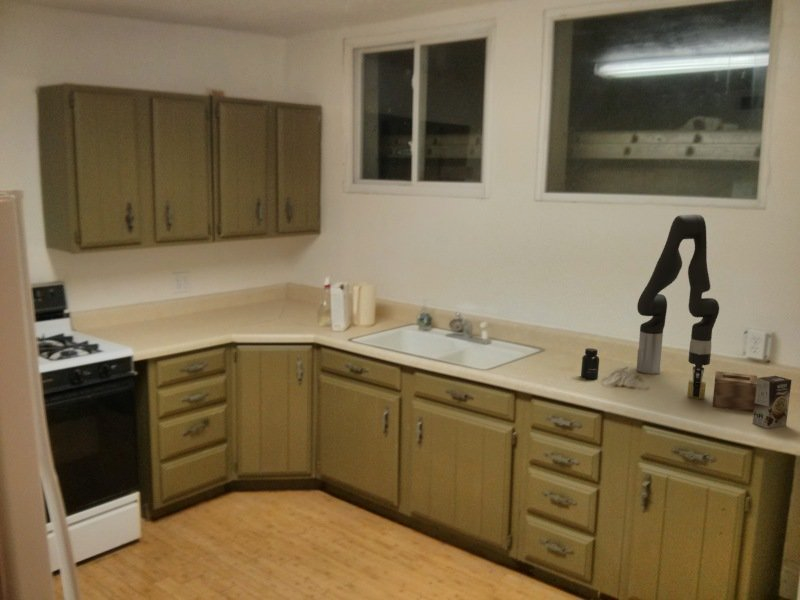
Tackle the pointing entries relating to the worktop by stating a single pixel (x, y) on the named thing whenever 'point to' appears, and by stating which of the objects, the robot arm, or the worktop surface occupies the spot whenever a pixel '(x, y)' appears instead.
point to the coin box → (735, 391)
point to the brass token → (702, 389)
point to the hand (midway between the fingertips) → (696, 394)
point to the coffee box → (772, 401)
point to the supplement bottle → (590, 364)
